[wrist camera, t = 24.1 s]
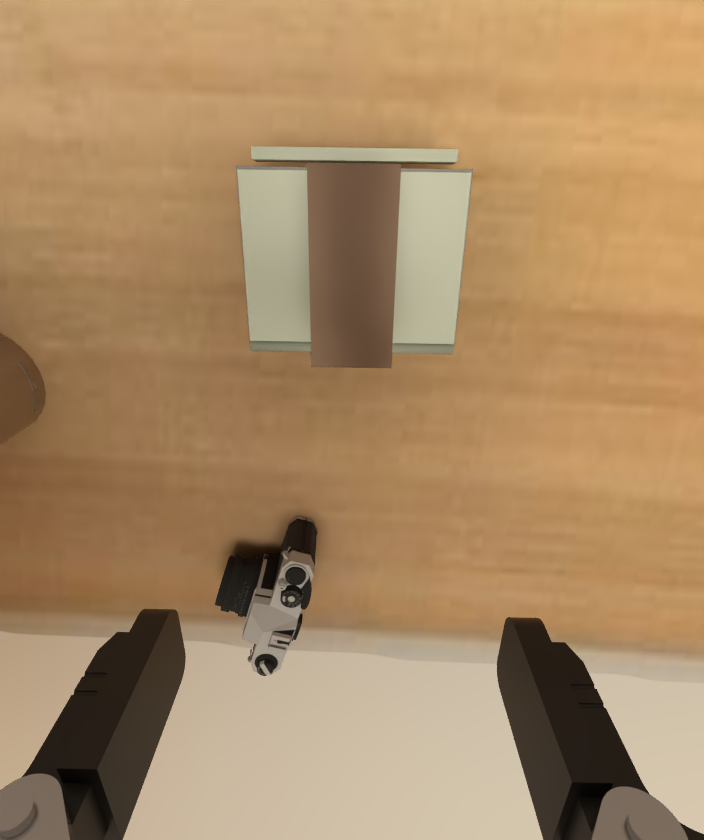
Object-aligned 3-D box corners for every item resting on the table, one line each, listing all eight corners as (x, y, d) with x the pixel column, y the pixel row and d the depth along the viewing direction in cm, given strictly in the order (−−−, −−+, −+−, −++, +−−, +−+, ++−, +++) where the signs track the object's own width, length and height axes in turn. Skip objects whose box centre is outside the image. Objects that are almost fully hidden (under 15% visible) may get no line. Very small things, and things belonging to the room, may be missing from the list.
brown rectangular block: (320, 337, 29) (311, 366, 24) (318, 172, 26) (306, 162, 20) (385, 338, 29) (391, 368, 24) (392, 173, 26) (401, 164, 20)
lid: (256, 345, 31) (250, 352, 30) (242, 149, 27) (235, 145, 25) (448, 348, 31) (452, 355, 30) (467, 152, 27) (473, 149, 25)
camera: (242, 497, 44) (215, 565, 35) (324, 517, 44) (317, 588, 36) (220, 600, 49) (192, 680, 41) (294, 615, 50) (282, 697, 41)
